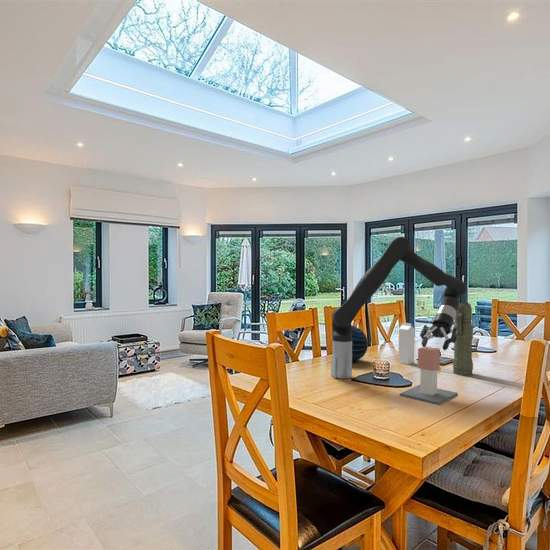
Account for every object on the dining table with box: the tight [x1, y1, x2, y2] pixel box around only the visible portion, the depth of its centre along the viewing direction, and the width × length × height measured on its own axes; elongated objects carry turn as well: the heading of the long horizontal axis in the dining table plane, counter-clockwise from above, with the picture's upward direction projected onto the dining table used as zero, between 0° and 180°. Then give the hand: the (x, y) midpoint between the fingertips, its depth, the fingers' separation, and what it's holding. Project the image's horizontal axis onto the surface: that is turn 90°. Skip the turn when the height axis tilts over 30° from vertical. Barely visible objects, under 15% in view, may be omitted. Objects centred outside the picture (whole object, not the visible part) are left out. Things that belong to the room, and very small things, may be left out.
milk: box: [398, 322, 415, 365], centre depth 217 cm, size 6×6×22 cm
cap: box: [417, 346, 441, 371], centre depth 159 cm, size 6×6×8 cm
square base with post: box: [399, 368, 458, 406], centre depth 159 cm, size 18×16×18 cm
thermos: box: [452, 301, 474, 377], centre depth 194 cm, size 9×12×35 cm
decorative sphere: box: [331, 325, 369, 363], centre depth 220 cm, size 20×20×20 cm
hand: (433, 347), depth 163 cm, fingers open, 8 cm apart
